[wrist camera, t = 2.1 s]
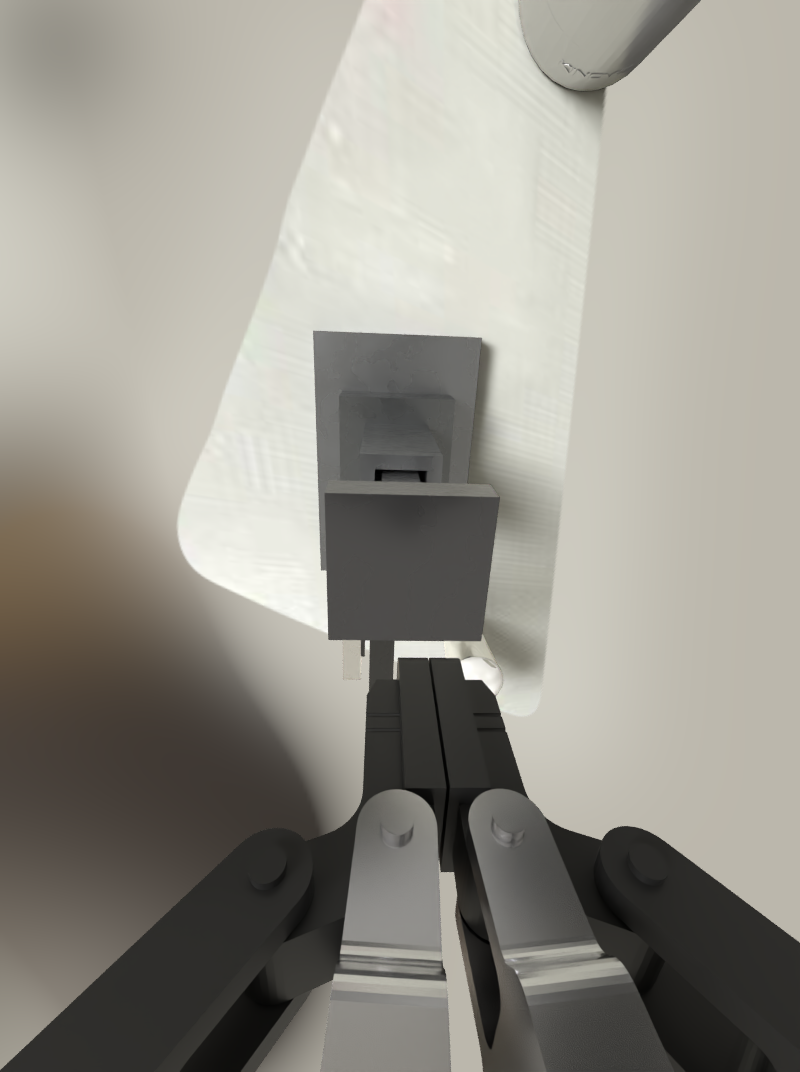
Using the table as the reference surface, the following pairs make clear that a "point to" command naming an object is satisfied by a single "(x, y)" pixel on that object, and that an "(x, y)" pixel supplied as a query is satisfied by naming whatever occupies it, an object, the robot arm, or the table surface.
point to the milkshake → (476, 662)
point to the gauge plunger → (407, 561)
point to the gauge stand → (391, 416)
